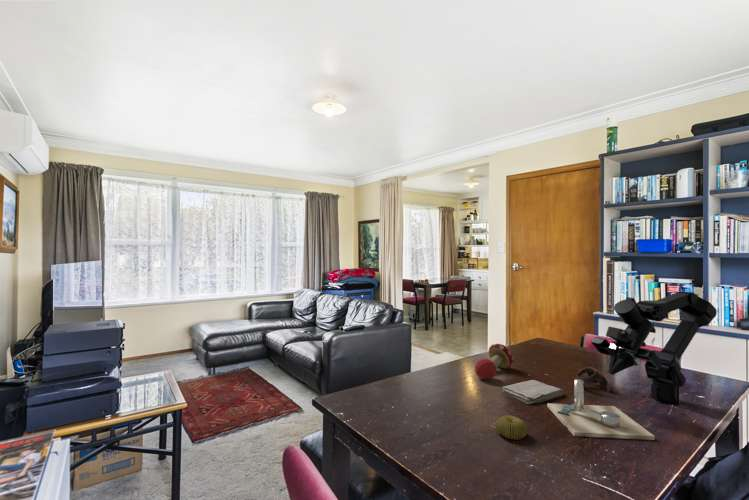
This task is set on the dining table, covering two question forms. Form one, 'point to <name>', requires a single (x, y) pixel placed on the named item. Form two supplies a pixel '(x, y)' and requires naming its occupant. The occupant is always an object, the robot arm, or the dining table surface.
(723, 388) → the dining table surface
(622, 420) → the napkin
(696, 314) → the robot arm
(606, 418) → the crank handle
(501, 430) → the green sea urchin shell
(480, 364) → the tomato
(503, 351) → the decorative mushroom
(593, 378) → the pottery mug
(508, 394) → the washcloth
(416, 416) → the dining table surface
